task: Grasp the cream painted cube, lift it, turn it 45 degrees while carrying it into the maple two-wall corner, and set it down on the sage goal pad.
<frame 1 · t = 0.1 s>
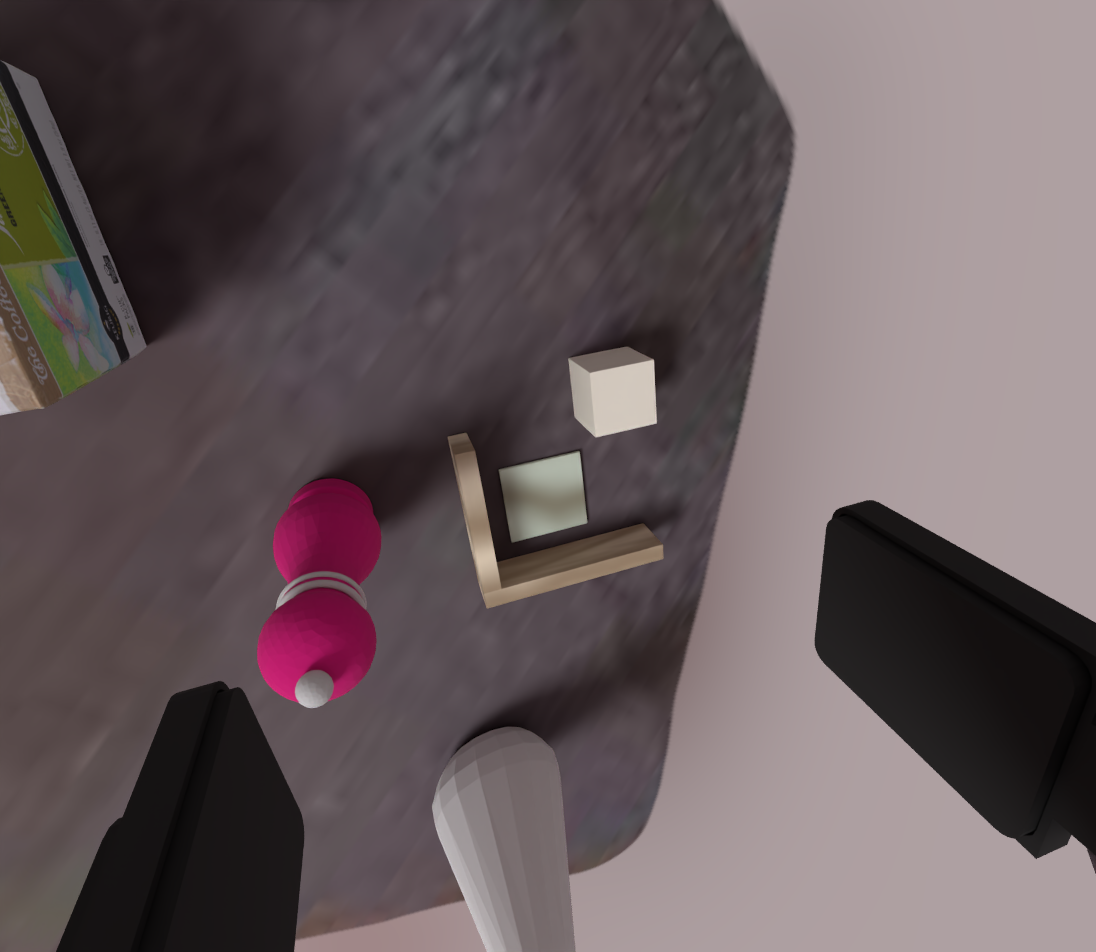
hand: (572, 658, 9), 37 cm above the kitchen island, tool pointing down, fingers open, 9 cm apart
soap bottle: (481, 740, 60), on the kitchen island
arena: (553, 483, 50), on the kitchen island
cube: (600, 382, 48), on the kitchen island
pepper mill: (331, 513, 46), on the kitchen island
tea box: (10, 234, 34), on the kitchen island
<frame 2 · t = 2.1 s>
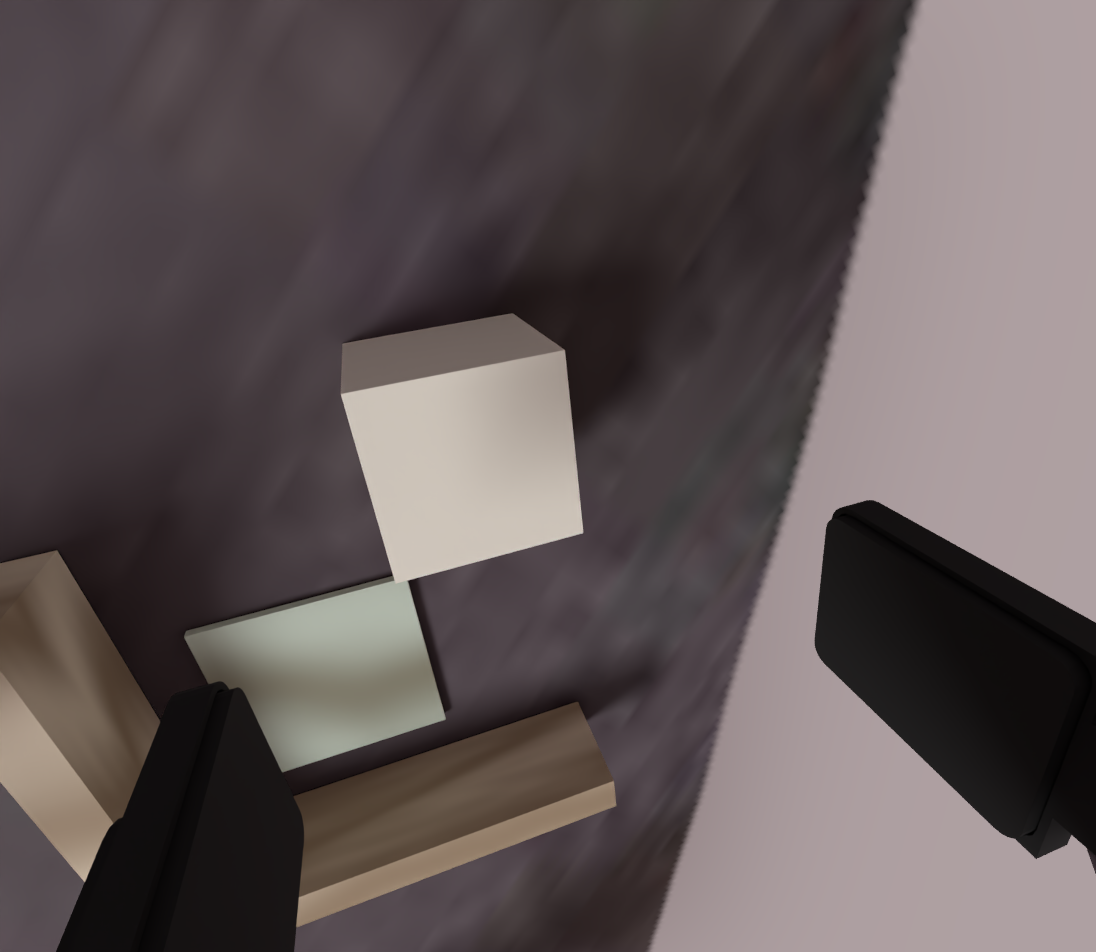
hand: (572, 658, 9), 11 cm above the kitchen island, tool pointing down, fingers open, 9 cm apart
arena: (350, 647, 21), on the kitchen island
cube: (446, 407, 18), on the kitchen island
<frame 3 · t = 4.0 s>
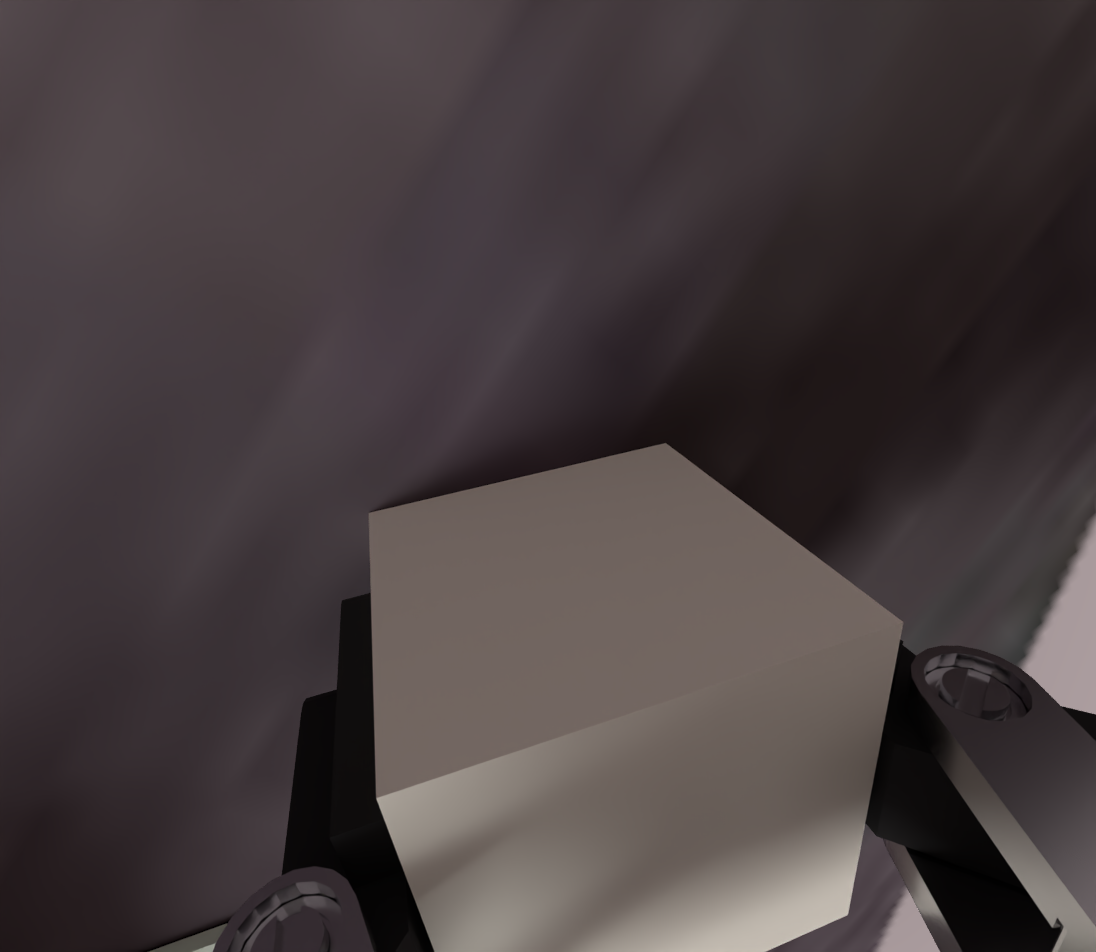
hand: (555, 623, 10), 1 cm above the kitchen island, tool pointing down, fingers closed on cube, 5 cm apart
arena: (373, 948, 13), on the kitchen island
cube: (543, 599, 11), on the kitchen island, touching gripper
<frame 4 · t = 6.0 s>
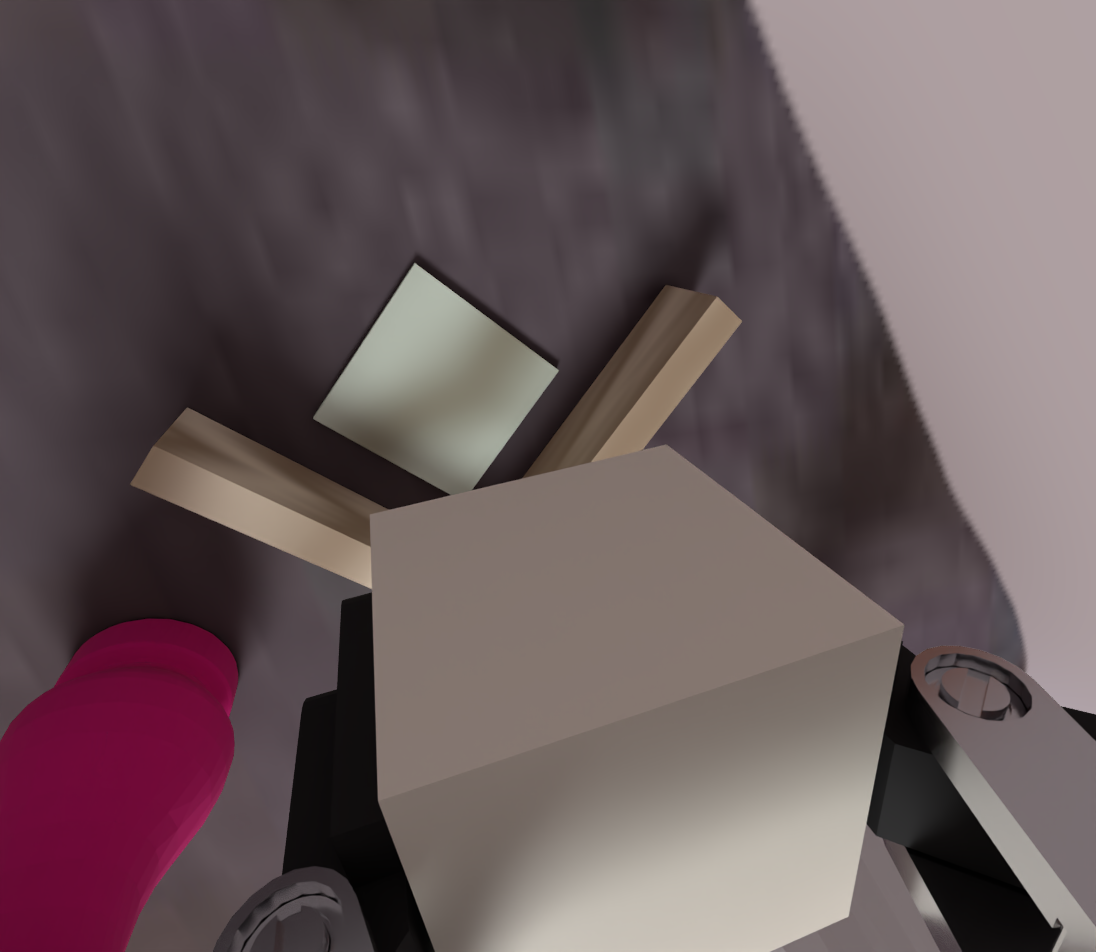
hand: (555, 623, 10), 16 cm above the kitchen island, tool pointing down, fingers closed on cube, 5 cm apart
soap bottle: (693, 737, 37), on the kitchen island
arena: (433, 357, 23), on the kitchen island
cube: (544, 600, 11), point 15 cm above the kitchen island, touching gripper
pepper mill: (159, 673, 25), on the kitchen island
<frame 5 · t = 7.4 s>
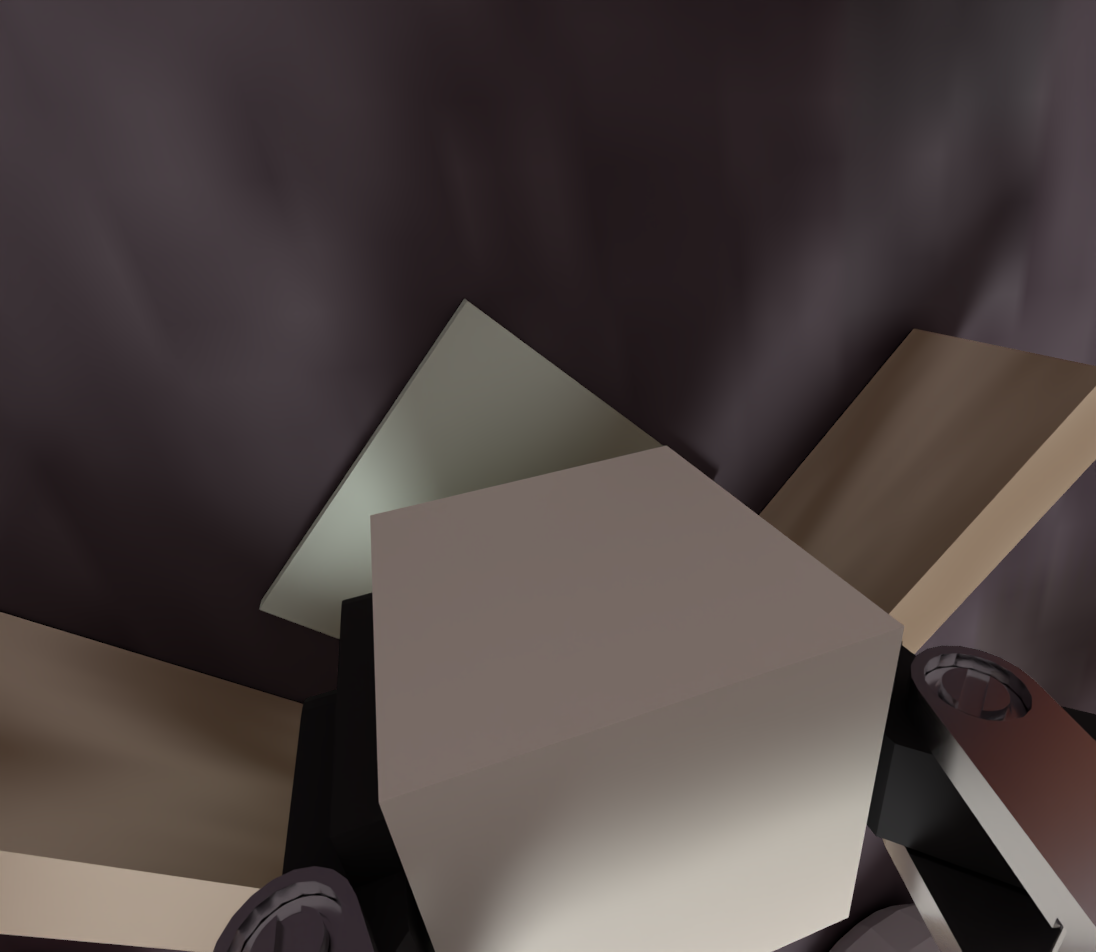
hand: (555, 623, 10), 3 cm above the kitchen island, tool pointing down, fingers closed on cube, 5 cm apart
soap bottle: (833, 951, 26), on the kitchen island
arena: (495, 477, 12), on the kitchen island
cube: (544, 601, 11), point 2 cm above the kitchen island, touching gripper
when the fingers open (2 cm above the kitchen island, at t = 8.3 s): cube drops 1 cm, resting on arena.
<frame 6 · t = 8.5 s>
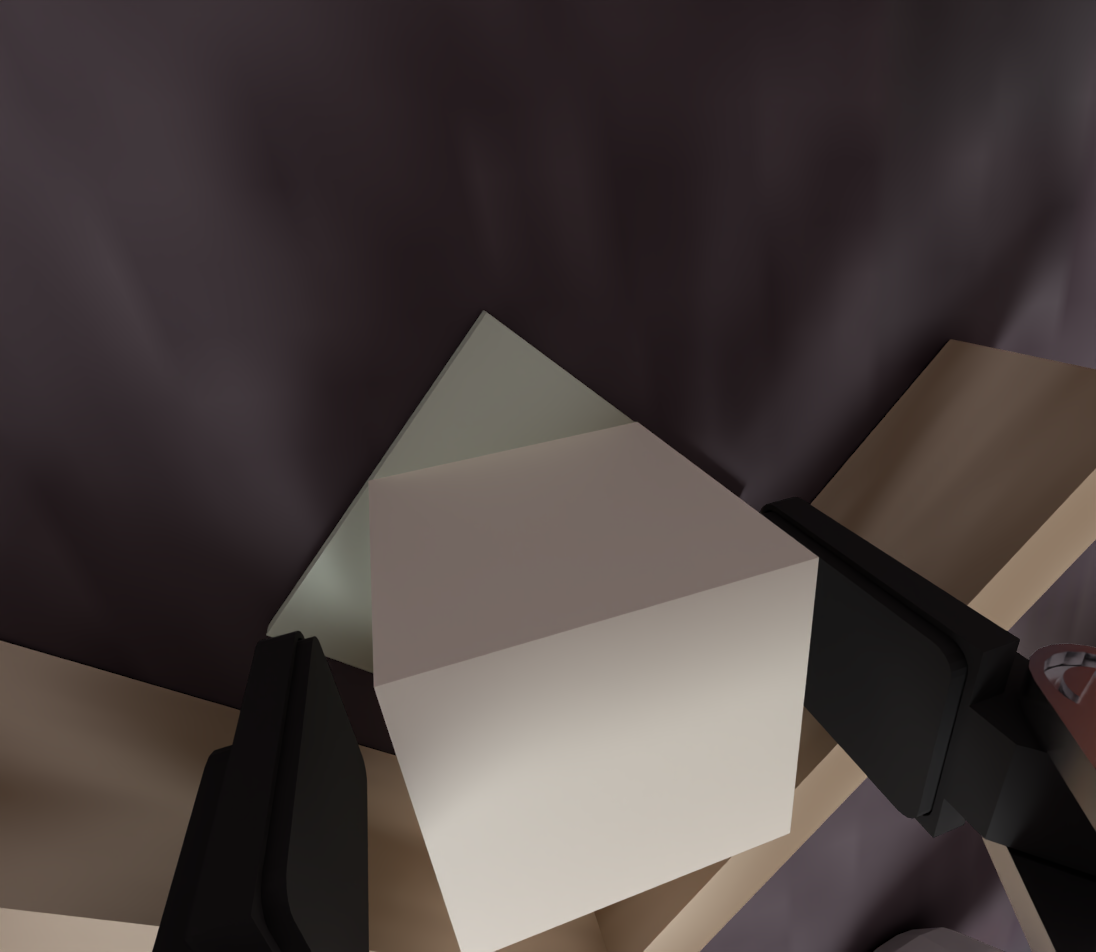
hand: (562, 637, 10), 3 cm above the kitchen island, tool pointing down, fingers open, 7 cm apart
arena: (514, 496, 11), on the kitchen island
cube: (527, 564, 12), resting on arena
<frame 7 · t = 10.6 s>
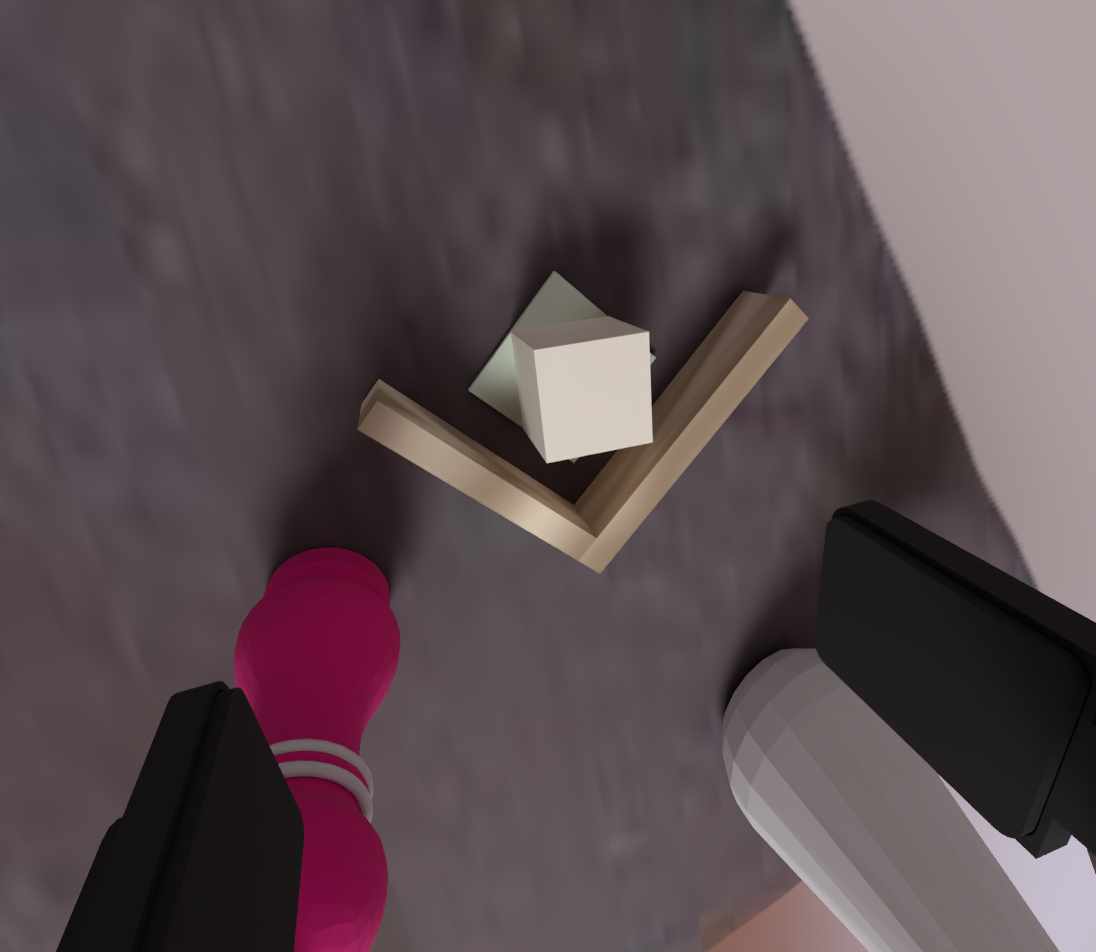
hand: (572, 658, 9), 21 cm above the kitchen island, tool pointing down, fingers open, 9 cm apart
soap bottle: (746, 687, 43), on the kitchen island
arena: (560, 344, 29), on the kitchen island
cube: (565, 373, 30), resting on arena
pepper mill: (329, 595, 32), on the kitchen island
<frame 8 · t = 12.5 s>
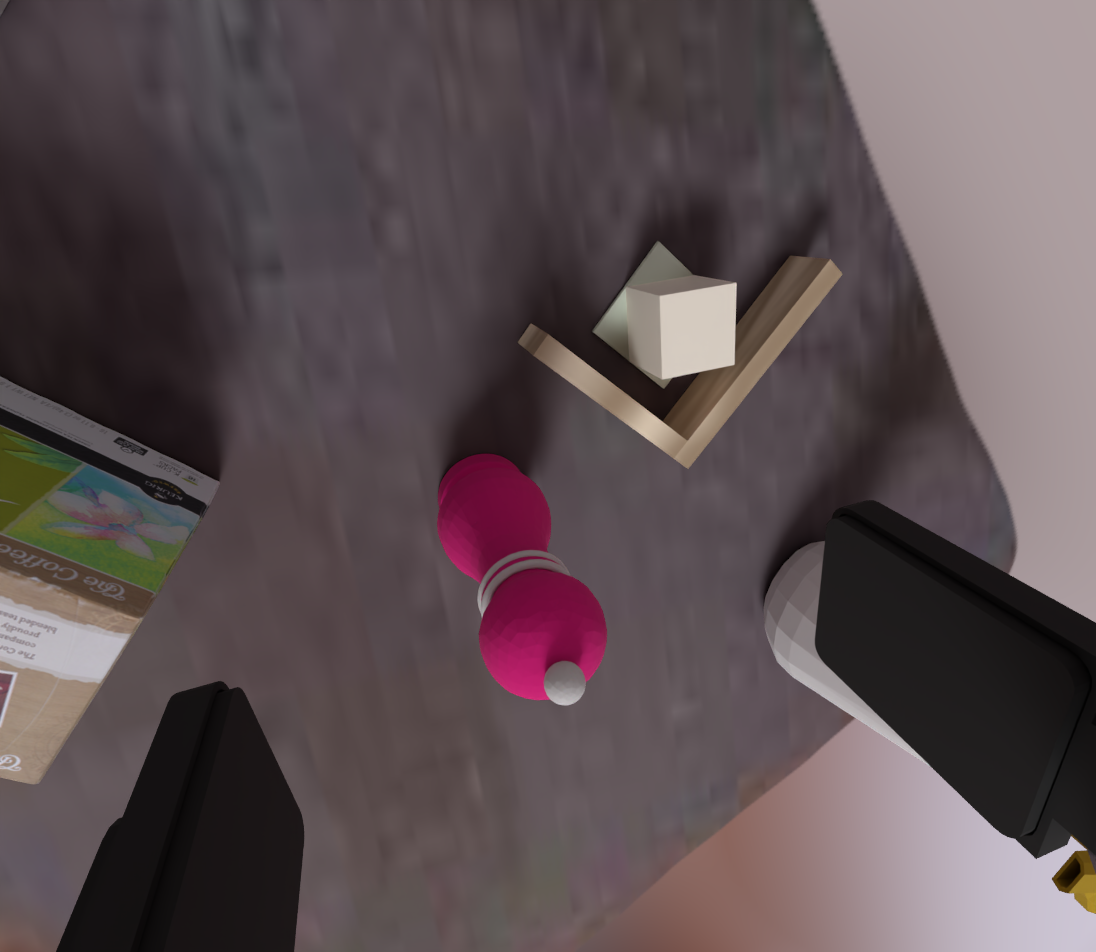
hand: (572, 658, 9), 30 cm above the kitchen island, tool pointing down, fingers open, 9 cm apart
soap bottle: (781, 577, 54), on the kitchen island
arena: (658, 297, 39), on the kitchen island
cube: (661, 319, 40), resting on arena
pepper mill: (481, 492, 42), on the kitchen island
tea box: (53, 480, 34), on the kitchen island
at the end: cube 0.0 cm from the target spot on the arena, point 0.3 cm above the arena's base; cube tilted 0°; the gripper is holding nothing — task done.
